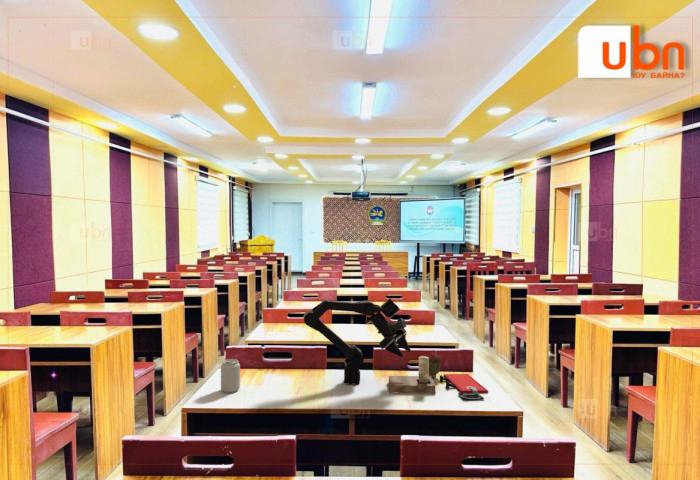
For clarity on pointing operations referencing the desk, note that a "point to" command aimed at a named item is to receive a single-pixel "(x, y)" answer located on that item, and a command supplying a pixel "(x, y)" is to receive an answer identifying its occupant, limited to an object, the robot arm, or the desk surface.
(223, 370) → the can
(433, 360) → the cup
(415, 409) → the desk surface
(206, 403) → the desk surface
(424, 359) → the birch dowel
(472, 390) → the red board with handle
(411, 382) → the walnut board
